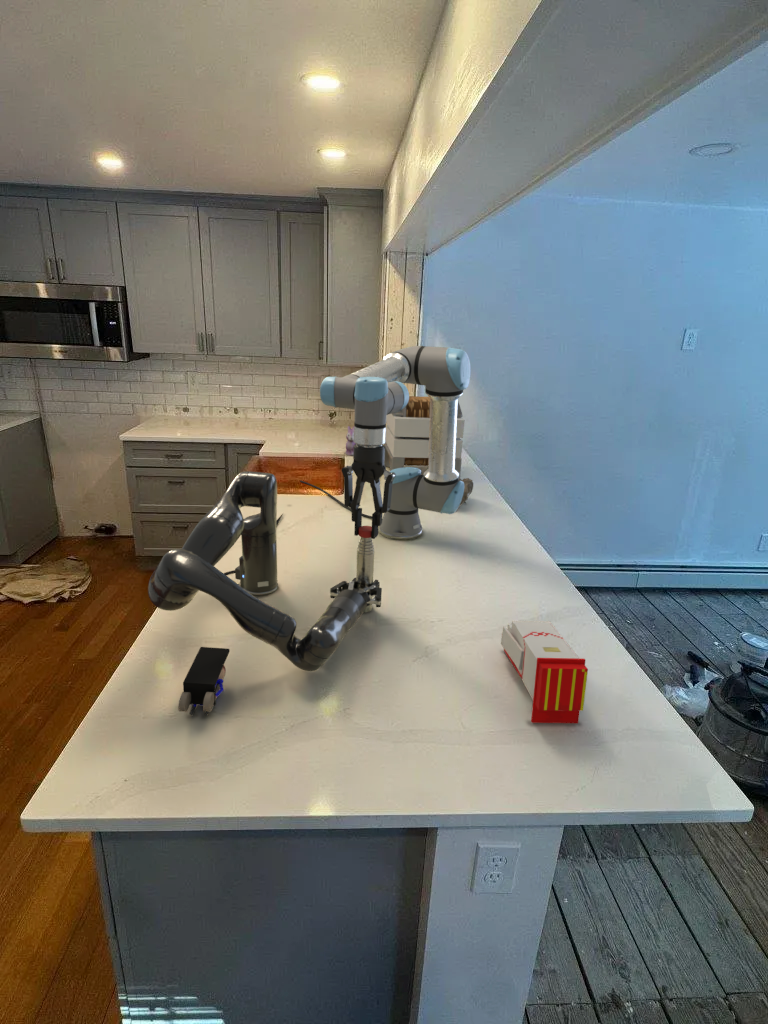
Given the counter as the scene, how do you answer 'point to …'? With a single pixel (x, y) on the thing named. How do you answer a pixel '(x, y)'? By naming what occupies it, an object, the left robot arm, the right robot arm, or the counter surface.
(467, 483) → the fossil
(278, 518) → the feather
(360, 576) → the bottle
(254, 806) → the counter surface
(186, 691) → the black wheeled cart
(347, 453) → the figurine
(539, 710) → the toy
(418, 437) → the white slatted crate
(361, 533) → the cap
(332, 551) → the counter surface
